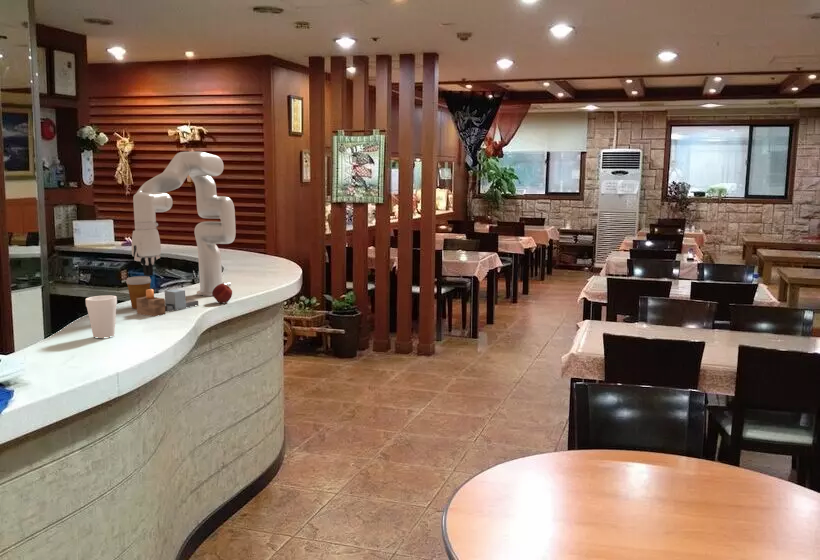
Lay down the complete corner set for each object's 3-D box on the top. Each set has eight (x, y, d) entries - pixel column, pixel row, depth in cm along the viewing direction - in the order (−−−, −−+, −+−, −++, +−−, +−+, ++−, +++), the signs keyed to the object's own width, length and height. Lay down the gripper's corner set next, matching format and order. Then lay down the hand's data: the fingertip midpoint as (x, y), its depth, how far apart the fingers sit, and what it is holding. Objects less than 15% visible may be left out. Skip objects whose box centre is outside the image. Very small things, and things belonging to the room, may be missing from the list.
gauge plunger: (151, 298, 282) (150, 288, 281) (155, 298, 280) (155, 289, 279) (144, 299, 279) (144, 290, 279) (149, 299, 278) (148, 290, 277)
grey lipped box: (175, 305, 294) (174, 289, 293) (186, 307, 290) (185, 290, 289) (165, 308, 289) (164, 290, 288) (175, 309, 286) (174, 292, 285)
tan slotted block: (148, 311, 285) (147, 296, 284) (165, 314, 280) (164, 298, 279) (137, 313, 281) (136, 298, 280) (154, 316, 276) (153, 300, 275)
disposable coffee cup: (157, 305, 298) (155, 275, 296) (146, 309, 289) (144, 279, 287) (134, 305, 299) (132, 275, 297) (123, 309, 290) (121, 279, 288)
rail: (191, 304, 299) (191, 299, 299) (198, 305, 297) (198, 300, 296) (160, 310, 286) (160, 305, 286) (167, 311, 284) (167, 306, 284)
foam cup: (100, 341, 236) (97, 301, 235) (82, 338, 241) (79, 298, 239) (125, 335, 244) (122, 296, 242) (107, 332, 249) (104, 294, 247)
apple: (227, 304, 298) (226, 285, 296) (209, 304, 299) (208, 284, 298) (235, 301, 305) (234, 282, 303) (217, 301, 306) (216, 282, 305)
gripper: (155, 225, 284) (158, 272, 286) (121, 227, 271) (124, 277, 274) (168, 225, 280) (171, 273, 282) (134, 228, 267) (137, 278, 270)
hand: (148, 275), depth 278 cm, fingers closed
